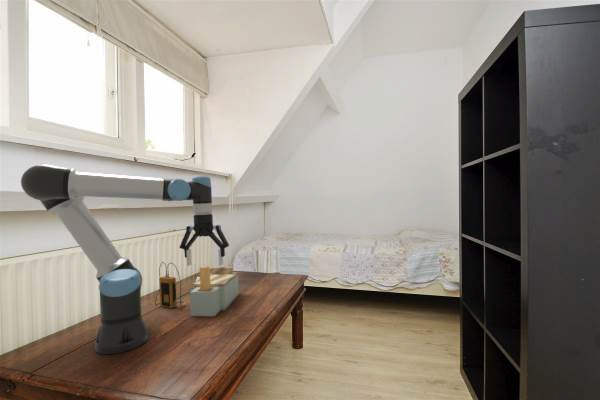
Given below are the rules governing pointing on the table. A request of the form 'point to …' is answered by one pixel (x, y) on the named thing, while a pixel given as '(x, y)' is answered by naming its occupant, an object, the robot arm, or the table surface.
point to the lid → (219, 276)
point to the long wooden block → (205, 278)
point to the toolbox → (213, 298)
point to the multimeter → (168, 290)
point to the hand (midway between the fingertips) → (205, 265)
